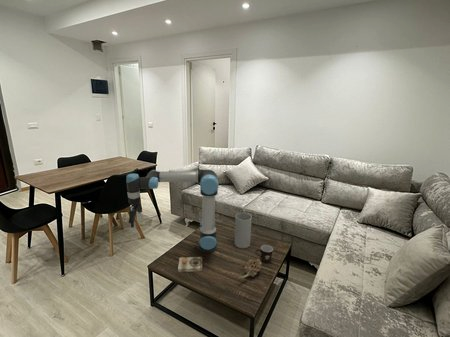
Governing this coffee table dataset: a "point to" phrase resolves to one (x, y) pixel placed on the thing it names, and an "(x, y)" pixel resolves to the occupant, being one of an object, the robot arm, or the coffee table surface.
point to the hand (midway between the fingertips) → (136, 225)
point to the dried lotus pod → (252, 268)
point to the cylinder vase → (243, 230)
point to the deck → (190, 264)
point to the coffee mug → (265, 253)
